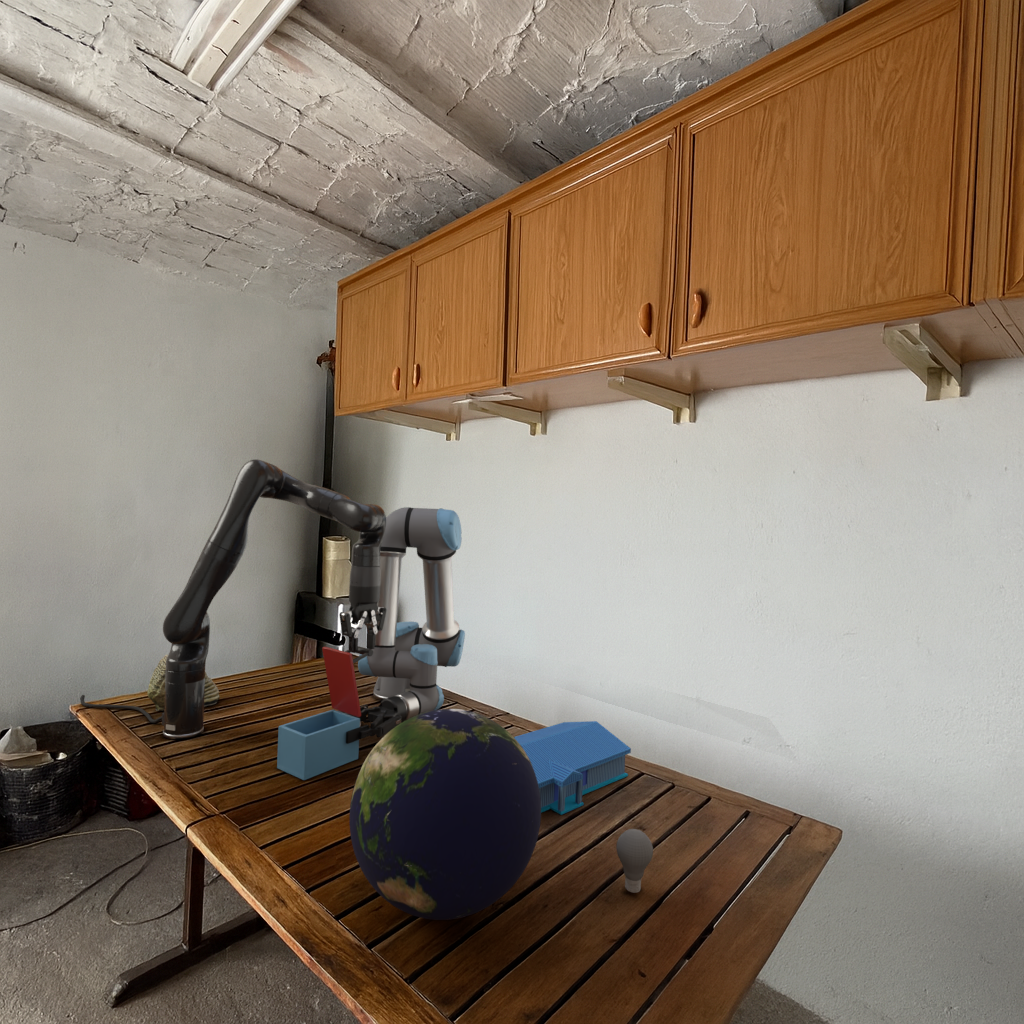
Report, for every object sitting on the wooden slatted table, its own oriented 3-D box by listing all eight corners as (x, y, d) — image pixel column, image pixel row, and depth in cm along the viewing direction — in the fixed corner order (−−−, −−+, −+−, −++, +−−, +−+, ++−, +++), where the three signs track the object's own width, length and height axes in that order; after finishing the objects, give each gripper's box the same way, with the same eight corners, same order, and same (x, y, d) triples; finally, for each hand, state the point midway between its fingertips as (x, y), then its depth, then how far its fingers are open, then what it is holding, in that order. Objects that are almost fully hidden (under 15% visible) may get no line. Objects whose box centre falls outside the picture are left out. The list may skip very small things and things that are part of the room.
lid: (349, 654, 150) (376, 640, 157) (321, 647, 156) (349, 634, 162) (358, 717, 153) (384, 700, 160) (332, 708, 159) (358, 692, 166)
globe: (303, 931, 92) (311, 727, 92) (410, 834, 120) (417, 677, 120) (490, 1000, 81) (500, 768, 81) (561, 876, 109) (569, 702, 108)
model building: (516, 834, 122) (519, 783, 122) (441, 787, 140) (443, 743, 140) (639, 780, 148) (641, 738, 148) (562, 747, 166) (564, 709, 166)
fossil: (144, 707, 182) (145, 655, 182) (212, 696, 194) (213, 647, 194) (151, 716, 175) (153, 662, 175) (221, 703, 188) (223, 653, 188)
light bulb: (610, 879, 108) (613, 822, 108) (644, 879, 109) (647, 822, 109) (619, 902, 102) (622, 840, 102) (655, 901, 103) (658, 840, 103)
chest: (303, 780, 141) (305, 736, 141) (276, 768, 147) (278, 725, 146) (358, 758, 154) (360, 718, 154) (331, 748, 160) (333, 709, 159)
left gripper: (353, 587, 151) (350, 658, 152) (396, 582, 163) (393, 648, 164) (332, 583, 156) (329, 652, 156) (375, 579, 167) (372, 643, 168)
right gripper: (428, 733, 165) (363, 760, 147) (368, 713, 178) (302, 736, 160) (429, 704, 165) (365, 728, 147) (369, 687, 178) (303, 706, 159)
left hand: (362, 650), depth 160 cm, fingers open, 5 cm apart
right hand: (332, 732), depth 153 cm, fingers closed on chest, 10 cm apart
